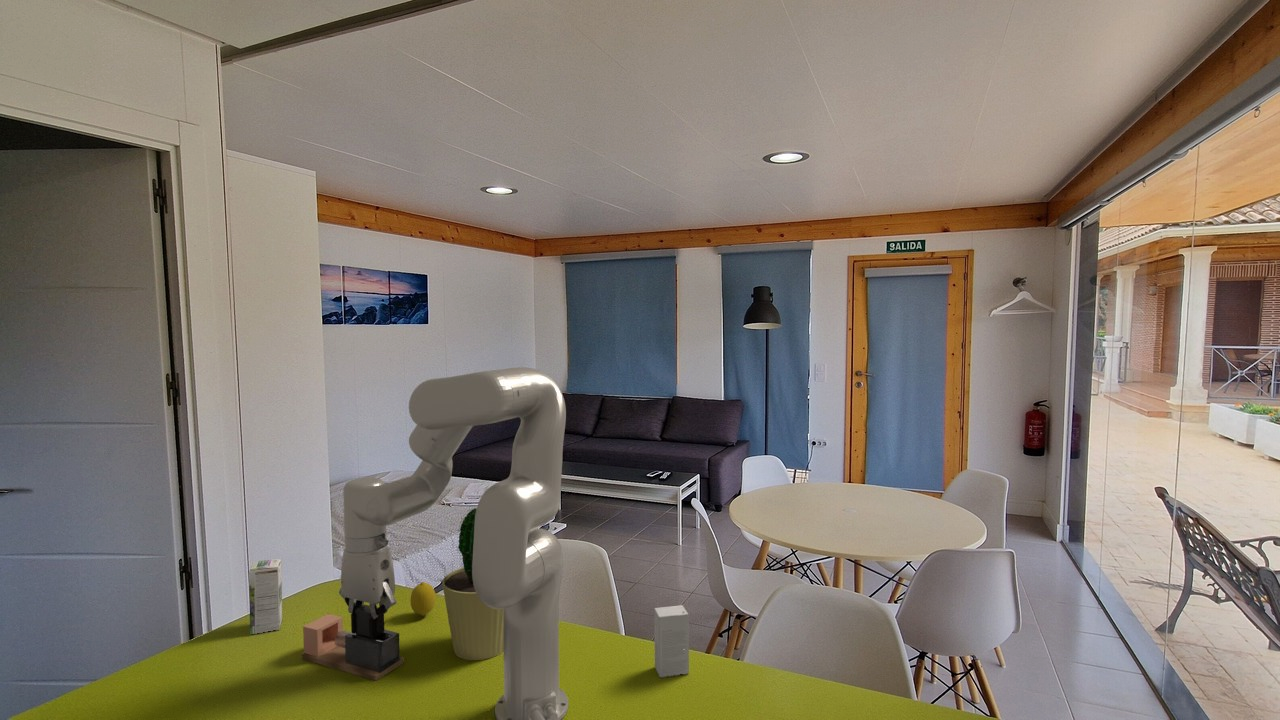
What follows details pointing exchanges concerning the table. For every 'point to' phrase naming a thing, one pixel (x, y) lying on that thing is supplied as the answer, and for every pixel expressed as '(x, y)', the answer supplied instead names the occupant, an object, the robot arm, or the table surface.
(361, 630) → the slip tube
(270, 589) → the syrup box
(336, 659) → the base board
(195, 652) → the table surface
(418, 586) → the lemon
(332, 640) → the socket block
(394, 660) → the dark grey open box
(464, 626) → the potted cactus
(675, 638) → the skincare box
